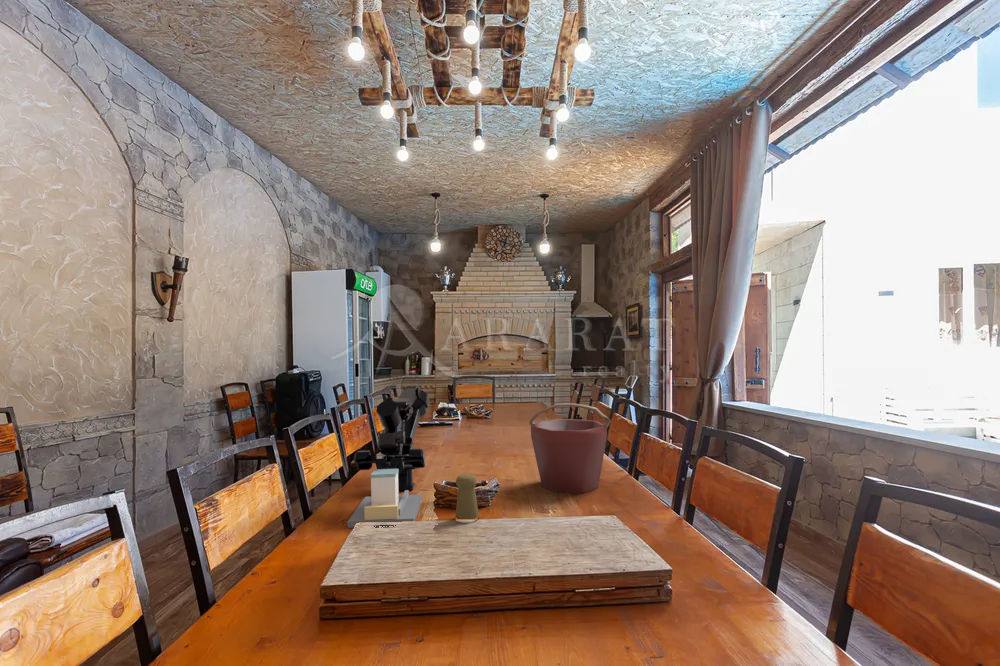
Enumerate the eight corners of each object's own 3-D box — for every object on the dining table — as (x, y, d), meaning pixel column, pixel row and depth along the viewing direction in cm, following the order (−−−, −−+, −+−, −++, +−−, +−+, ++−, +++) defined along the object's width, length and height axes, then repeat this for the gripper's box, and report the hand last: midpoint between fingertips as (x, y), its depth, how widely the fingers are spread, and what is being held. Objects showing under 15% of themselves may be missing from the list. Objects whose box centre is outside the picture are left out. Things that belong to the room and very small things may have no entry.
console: (365, 501, 137) (365, 485, 137) (422, 499, 138) (421, 483, 138) (347, 527, 117) (347, 509, 118) (413, 524, 118) (413, 506, 118)
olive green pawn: (475, 523, 118) (474, 478, 118) (452, 522, 119) (451, 477, 119) (481, 515, 124) (480, 471, 124) (459, 514, 125) (458, 471, 125)
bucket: (620, 482, 150) (618, 401, 151) (594, 502, 131) (591, 410, 132) (550, 472, 163) (547, 398, 164) (516, 490, 144) (514, 406, 145)
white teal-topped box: (375, 507, 127) (374, 469, 127) (399, 506, 127) (398, 468, 127) (371, 513, 122) (370, 474, 122) (396, 512, 122) (395, 473, 122)
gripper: (355, 421, 133) (344, 472, 121) (423, 419, 134) (419, 469, 122) (362, 444, 140) (353, 494, 129) (426, 442, 141) (423, 492, 130)
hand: (386, 487), depth 127 cm, fingers closed, pressing on white teal-topped box
